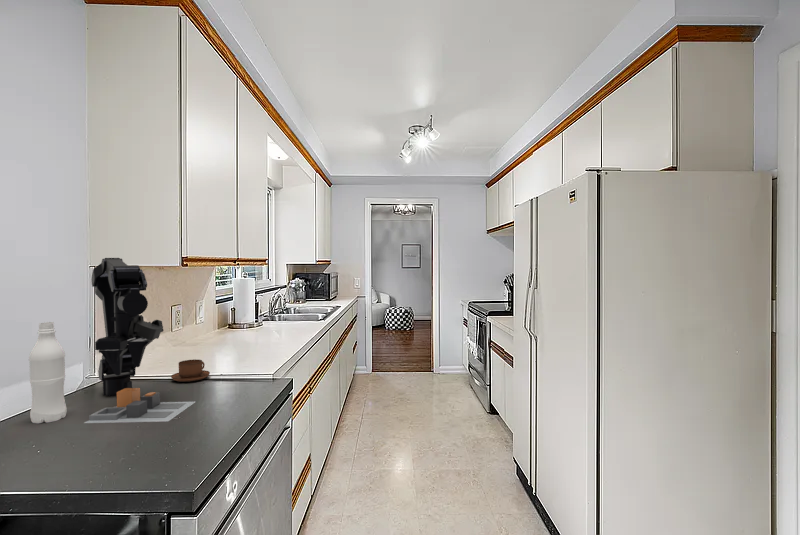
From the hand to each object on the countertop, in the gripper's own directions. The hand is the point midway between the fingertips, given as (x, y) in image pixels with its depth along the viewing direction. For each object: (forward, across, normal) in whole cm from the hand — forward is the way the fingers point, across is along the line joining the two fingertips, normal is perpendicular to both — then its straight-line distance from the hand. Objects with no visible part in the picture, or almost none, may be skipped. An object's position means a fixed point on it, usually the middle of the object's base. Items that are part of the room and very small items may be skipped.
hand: (128, 370), depth 127 cm
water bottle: (+11, -10, +14) cm, 20 cm away
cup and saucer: (+11, +34, -2) cm, 36 cm away
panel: (+11, -6, -7) cm, 14 cm away
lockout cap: (+9, 0, 0) cm, 9 cm away
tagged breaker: (+9, -2, -7) cm, 11 cm away
